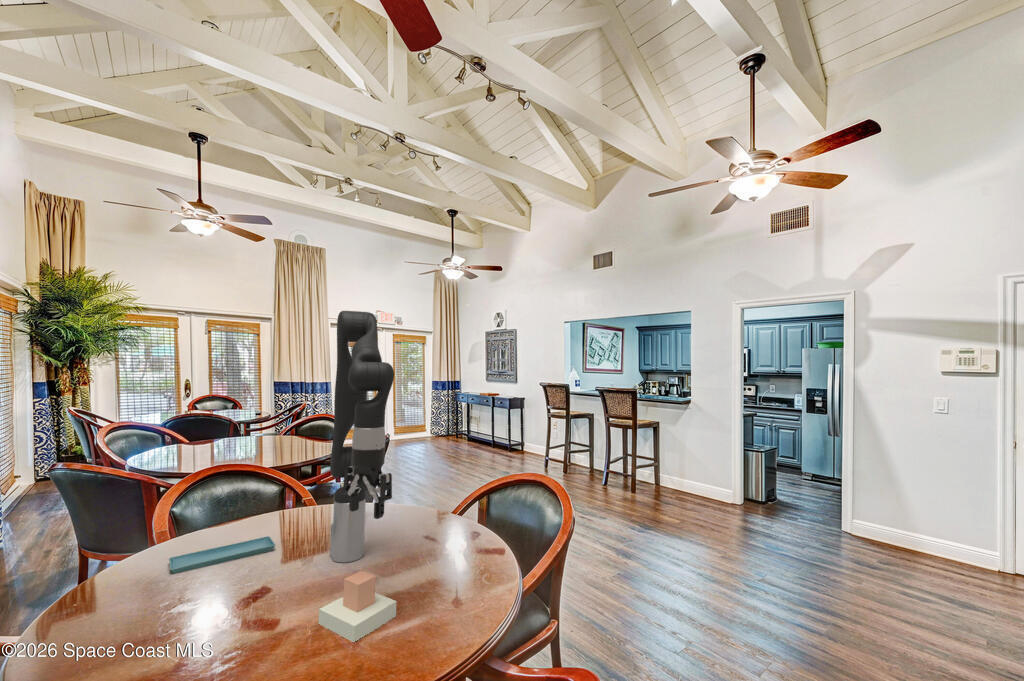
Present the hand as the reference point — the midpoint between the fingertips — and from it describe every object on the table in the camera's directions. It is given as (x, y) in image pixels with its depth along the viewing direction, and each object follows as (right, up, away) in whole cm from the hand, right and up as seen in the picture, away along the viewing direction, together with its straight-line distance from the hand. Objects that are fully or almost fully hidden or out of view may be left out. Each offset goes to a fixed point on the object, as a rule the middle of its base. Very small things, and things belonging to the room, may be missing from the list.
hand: (366, 514), depth 105 cm
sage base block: (-1, -24, -3) cm, 24 cm away
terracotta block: (-1, -20, -3) cm, 20 cm away
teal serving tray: (-52, -25, +28) cm, 64 cm away
